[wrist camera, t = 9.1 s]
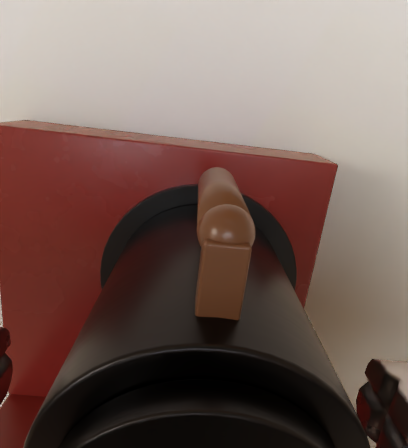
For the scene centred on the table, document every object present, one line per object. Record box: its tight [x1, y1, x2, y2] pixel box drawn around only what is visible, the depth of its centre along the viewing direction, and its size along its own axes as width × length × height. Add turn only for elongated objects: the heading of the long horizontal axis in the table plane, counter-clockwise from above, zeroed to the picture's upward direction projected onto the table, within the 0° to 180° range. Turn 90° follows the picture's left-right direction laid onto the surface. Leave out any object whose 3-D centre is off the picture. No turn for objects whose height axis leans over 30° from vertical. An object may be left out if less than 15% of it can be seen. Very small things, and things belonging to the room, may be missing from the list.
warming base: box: [0, 120, 338, 397], centre depth 10 cm, size 11×10×11 cm
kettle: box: [23, 167, 370, 448], centre depth 8 cm, size 6×9×8 cm, turn 174°
